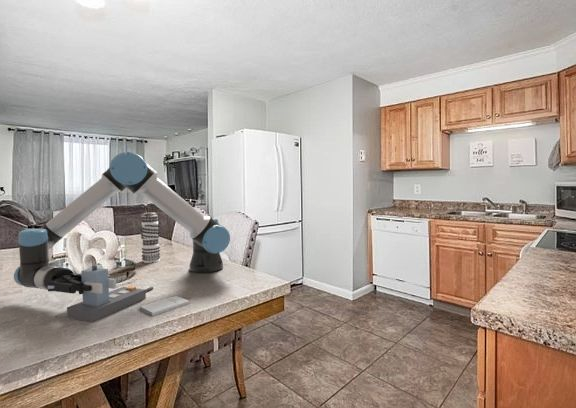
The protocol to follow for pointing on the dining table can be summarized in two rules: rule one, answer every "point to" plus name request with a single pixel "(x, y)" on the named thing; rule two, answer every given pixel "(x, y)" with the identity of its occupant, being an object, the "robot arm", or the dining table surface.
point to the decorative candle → (150, 237)
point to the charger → (96, 277)
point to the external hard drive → (164, 305)
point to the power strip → (108, 304)
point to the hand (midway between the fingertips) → (108, 286)
